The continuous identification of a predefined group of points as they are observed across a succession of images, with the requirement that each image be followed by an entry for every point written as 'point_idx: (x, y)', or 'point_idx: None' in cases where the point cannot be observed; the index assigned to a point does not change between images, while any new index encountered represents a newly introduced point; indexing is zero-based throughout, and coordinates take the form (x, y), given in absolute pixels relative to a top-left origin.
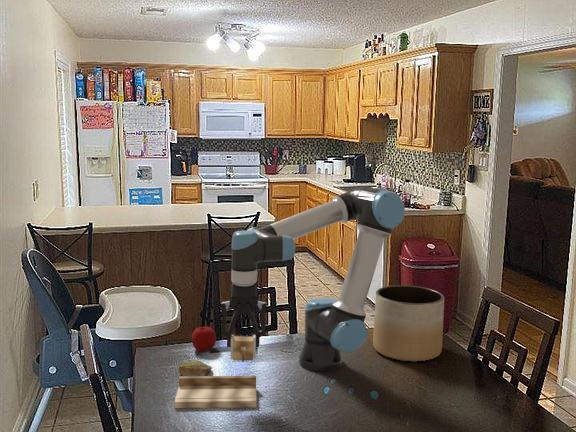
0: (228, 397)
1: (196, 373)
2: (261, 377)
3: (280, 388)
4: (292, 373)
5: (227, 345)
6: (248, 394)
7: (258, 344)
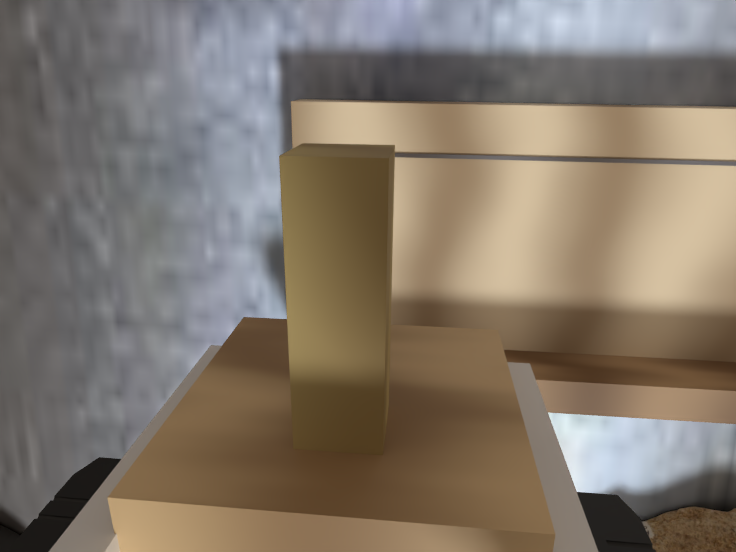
0: (498, 166)
1: (684, 537)
2: None
3: (161, 344)
4: None
5: (629, 517)
6: None
7: (78, 486)
